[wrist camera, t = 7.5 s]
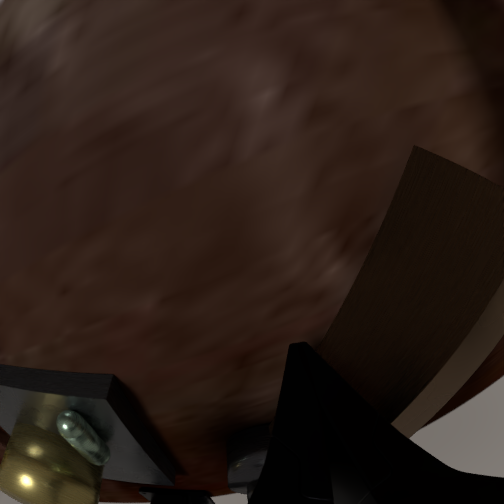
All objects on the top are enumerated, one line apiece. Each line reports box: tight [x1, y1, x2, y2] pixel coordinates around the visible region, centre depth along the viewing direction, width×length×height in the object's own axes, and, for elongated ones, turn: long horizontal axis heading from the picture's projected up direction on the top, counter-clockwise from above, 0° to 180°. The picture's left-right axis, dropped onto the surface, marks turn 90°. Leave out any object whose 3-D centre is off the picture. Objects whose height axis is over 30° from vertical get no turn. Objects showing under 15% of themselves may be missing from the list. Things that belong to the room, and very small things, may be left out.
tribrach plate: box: [0, 364, 175, 504], centre depth 13 cm, size 12×12×6 cm
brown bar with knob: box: [226, 145, 504, 502], centre depth 11 cm, size 20×5×5 cm, turn 164°
